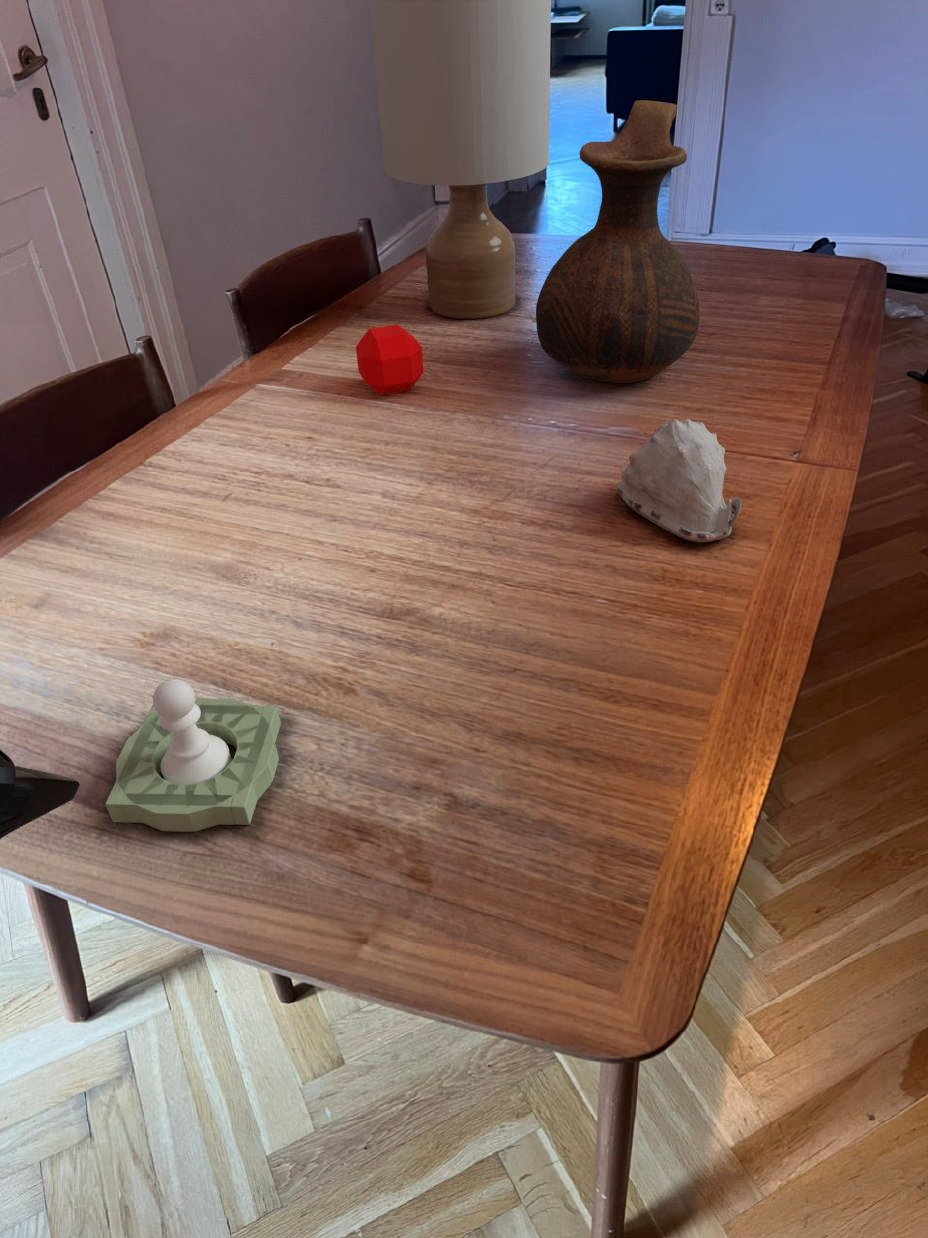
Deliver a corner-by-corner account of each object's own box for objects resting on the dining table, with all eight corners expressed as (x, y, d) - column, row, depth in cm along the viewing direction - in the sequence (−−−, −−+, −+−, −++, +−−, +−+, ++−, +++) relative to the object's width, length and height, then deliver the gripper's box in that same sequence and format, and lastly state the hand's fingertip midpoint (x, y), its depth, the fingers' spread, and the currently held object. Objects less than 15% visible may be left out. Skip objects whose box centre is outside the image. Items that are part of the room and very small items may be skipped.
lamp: (385, 290, 150) (355, -15, 123) (521, 272, 153) (520, -26, 127) (413, 341, 131) (385, -4, 105) (567, 320, 135) (577, -18, 109)
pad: (99, 830, 63) (91, 812, 61) (153, 715, 71) (147, 697, 70) (257, 833, 62) (251, 815, 60) (292, 717, 71) (287, 699, 69)
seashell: (711, 557, 85) (726, 465, 79) (598, 506, 93) (603, 418, 87) (779, 507, 91) (798, 418, 85) (668, 463, 99) (677, 379, 93)
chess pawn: (201, 739, 69) (172, 652, 63) (247, 764, 67) (221, 676, 61) (151, 781, 66) (116, 693, 60) (197, 809, 64) (165, 720, 58)
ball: (413, 370, 123) (408, 316, 118) (429, 393, 117) (425, 336, 112) (357, 380, 121) (350, 325, 116) (370, 404, 115) (363, 347, 110)
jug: (729, 375, 117) (768, 118, 98) (590, 413, 110) (603, 144, 91) (634, 324, 132) (651, 94, 114) (507, 354, 126) (504, 115, 107)
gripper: (-128, 642, 33) (186, 693, 46) (-292, 493, 43) (7, 570, 56) (-246, 911, 33) (100, 884, 47) (-381, 702, 43) (-63, 730, 56)
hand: (32, 752), depth 51 cm, fingers open, 9 cm apart
